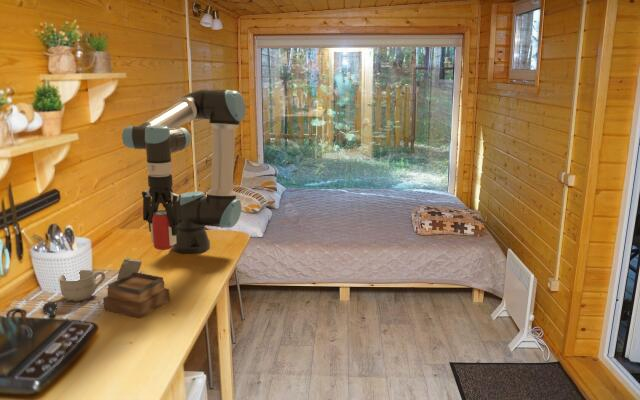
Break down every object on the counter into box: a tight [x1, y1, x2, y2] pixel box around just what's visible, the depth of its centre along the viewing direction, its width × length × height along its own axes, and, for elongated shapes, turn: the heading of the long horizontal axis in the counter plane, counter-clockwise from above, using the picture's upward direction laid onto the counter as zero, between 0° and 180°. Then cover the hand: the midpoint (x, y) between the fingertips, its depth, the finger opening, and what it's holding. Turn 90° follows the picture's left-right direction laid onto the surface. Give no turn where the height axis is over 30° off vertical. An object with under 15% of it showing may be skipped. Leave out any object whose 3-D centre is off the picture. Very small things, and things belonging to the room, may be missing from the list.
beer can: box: [152, 209, 174, 251], centre depth 182 cm, size 7×7×12 cm
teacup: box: [58, 269, 106, 302], centre depth 180 cm, size 14×11×8 cm
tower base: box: [103, 272, 171, 319], centre depth 174 cm, size 14×14×8 cm
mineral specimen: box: [116, 257, 143, 280], centre depth 194 cm, size 7×9×8 cm
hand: (164, 242), depth 183 cm, fingers closed on beer can, 6 cm apart
